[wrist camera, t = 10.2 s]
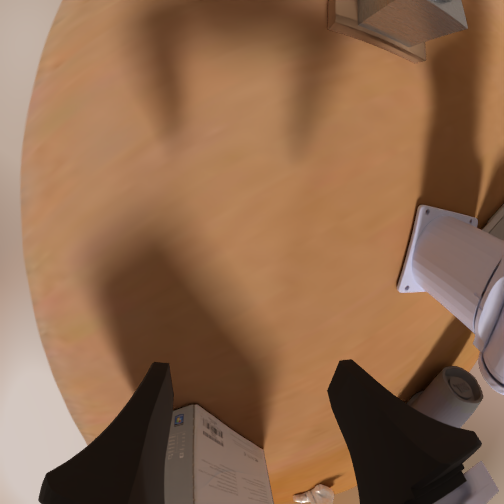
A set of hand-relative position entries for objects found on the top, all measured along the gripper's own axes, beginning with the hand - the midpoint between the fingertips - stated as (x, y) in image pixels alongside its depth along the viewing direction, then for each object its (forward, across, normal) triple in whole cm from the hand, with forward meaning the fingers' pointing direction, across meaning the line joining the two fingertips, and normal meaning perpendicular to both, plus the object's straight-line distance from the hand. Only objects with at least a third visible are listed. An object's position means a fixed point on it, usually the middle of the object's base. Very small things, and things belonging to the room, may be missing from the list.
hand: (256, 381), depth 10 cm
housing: (+8, -8, -23) cm, 26 cm away
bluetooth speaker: (+10, -28, +24) cm, 38 cm away
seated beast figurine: (+10, -22, +57) cm, 62 cm away
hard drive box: (+10, +2, +23) cm, 25 cm away
